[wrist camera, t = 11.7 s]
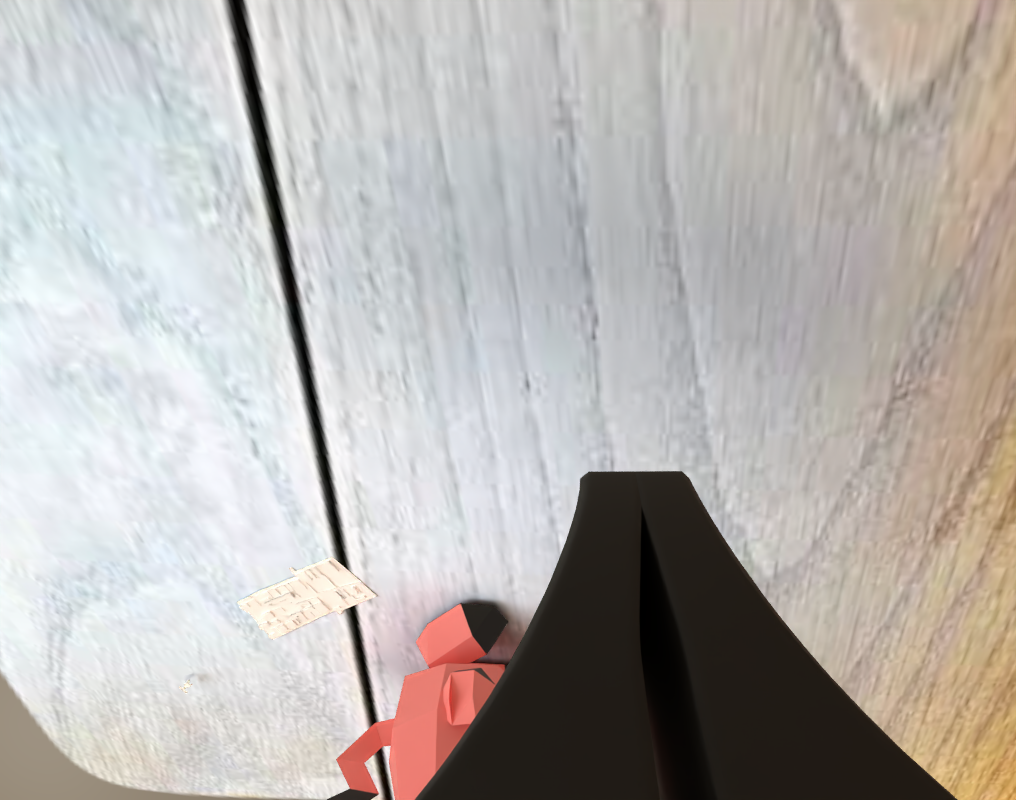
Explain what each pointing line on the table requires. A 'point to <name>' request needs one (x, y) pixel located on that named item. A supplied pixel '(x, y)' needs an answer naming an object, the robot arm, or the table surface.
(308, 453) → the table surface
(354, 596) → the card
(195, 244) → the table surface
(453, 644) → the cat figurine
